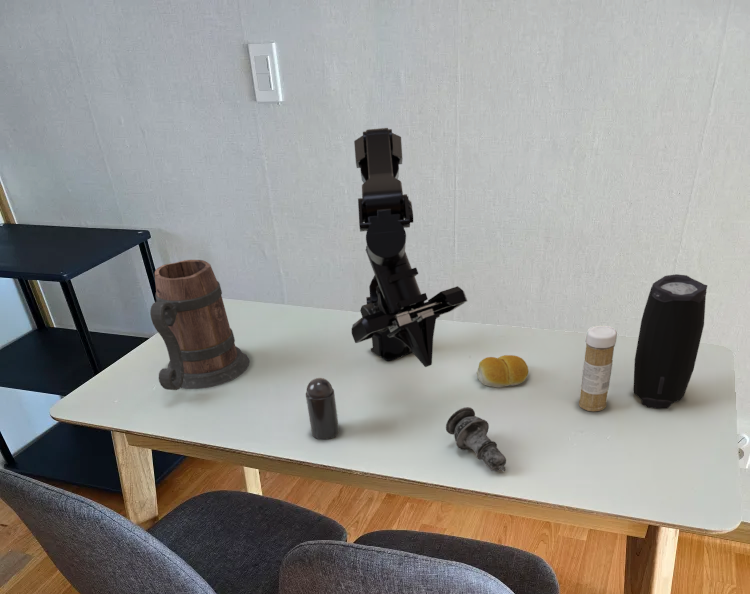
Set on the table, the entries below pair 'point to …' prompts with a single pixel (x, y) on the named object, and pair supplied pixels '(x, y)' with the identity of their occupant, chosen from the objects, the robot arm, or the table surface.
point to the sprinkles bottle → (597, 367)
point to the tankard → (194, 327)
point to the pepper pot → (322, 409)
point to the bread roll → (502, 371)
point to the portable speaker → (669, 340)
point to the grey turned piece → (475, 437)
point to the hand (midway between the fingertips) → (428, 365)
